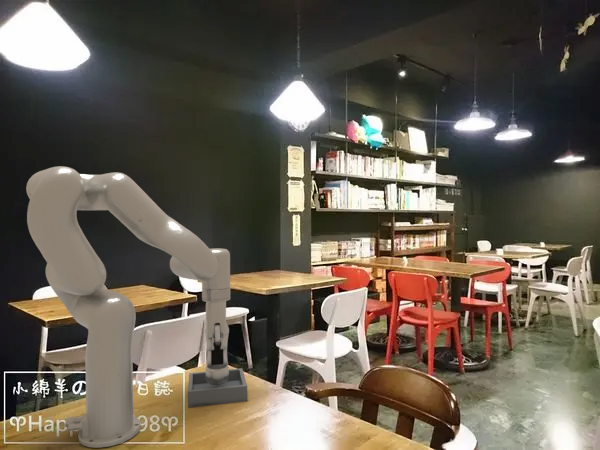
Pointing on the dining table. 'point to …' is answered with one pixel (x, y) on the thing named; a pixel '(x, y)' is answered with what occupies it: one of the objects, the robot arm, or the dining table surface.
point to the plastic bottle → (217, 372)
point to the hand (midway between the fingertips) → (216, 359)
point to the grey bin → (216, 389)
